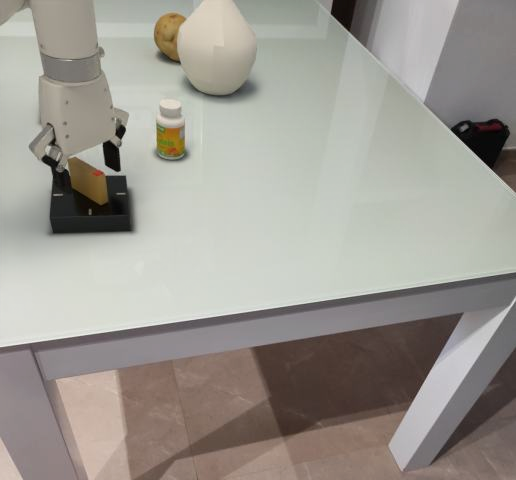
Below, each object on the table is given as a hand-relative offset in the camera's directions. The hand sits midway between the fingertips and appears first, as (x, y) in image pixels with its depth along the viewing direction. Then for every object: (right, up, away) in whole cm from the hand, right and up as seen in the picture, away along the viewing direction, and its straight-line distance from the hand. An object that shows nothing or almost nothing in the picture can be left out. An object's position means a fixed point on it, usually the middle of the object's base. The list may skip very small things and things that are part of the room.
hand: (89, 179), depth 81 cm
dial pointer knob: (-1, -2, +2) cm, 3 cm away
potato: (+5, +49, +53) cm, 72 cm away
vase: (+16, +36, +43) cm, 59 cm away
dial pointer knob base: (-1, -4, +4) cm, 6 cm away
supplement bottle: (+10, +11, +20) cm, 25 cm away
